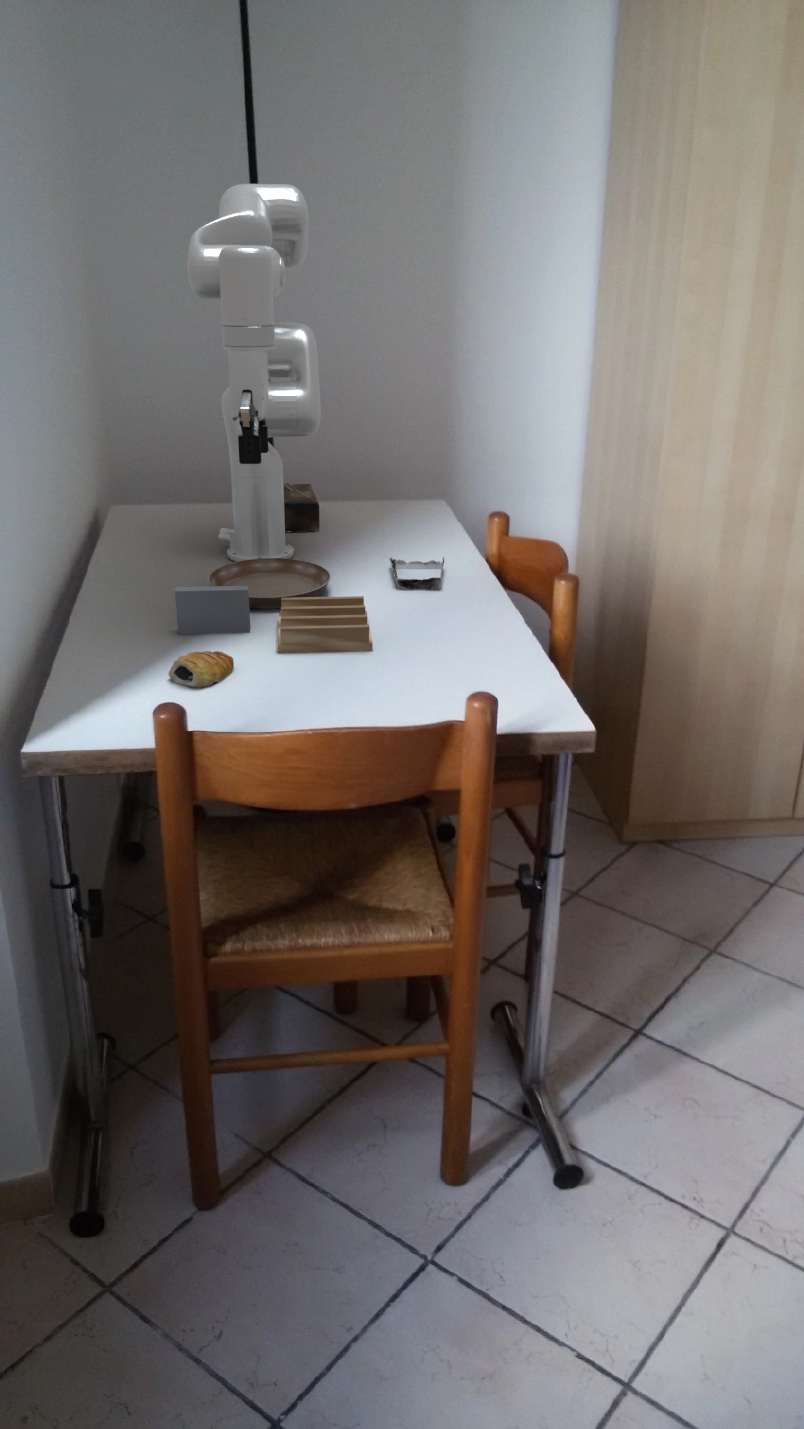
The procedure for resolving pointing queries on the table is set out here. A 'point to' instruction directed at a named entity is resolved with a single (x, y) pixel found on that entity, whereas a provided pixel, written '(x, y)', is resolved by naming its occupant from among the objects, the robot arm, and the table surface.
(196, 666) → the pastry
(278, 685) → the table surface
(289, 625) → the board rack
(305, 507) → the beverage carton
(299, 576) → the plant saucer
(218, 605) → the slate board
